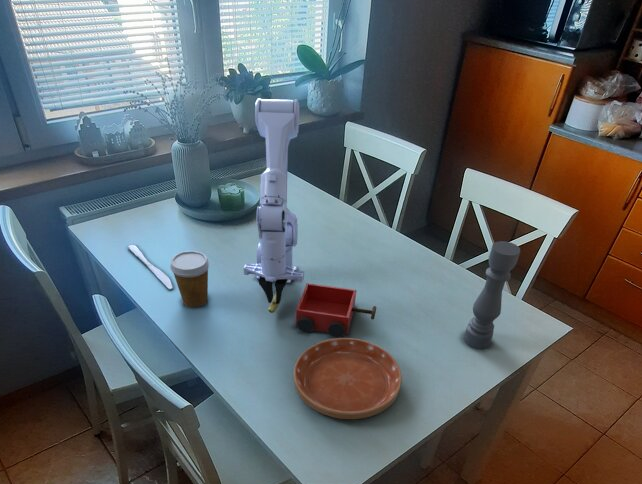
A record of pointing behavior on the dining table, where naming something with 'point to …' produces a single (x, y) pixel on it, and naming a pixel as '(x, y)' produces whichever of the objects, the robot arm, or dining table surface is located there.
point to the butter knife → (152, 267)
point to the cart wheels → (335, 327)
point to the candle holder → (491, 294)
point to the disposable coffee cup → (191, 277)
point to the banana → (273, 305)
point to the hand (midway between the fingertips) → (274, 301)
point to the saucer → (347, 378)
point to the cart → (326, 306)
